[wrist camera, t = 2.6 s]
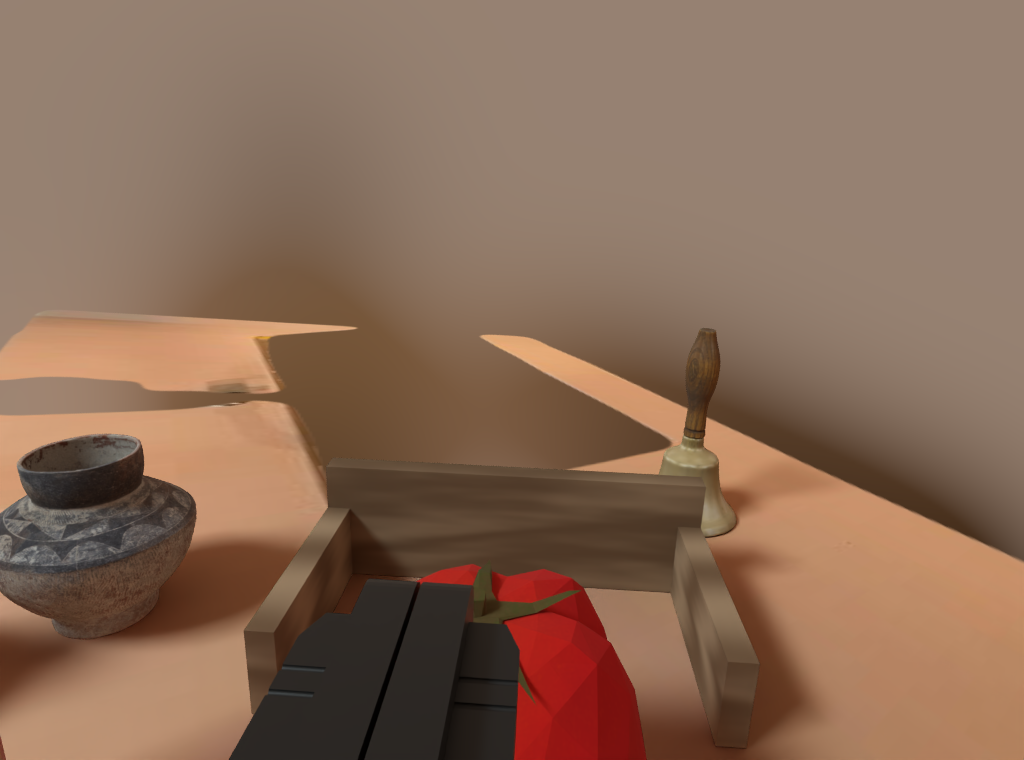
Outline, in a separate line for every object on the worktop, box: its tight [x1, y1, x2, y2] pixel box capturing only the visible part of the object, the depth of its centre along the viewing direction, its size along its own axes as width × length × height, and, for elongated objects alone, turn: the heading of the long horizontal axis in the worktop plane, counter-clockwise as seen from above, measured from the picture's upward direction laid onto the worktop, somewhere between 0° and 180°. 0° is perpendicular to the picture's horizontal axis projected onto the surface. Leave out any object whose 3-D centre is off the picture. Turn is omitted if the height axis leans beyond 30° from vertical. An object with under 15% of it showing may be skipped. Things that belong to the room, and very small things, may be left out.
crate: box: [244, 458, 760, 748], centre depth 39 cm, size 14×25×8 cm, turn 87°
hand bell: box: [658, 328, 736, 537], centre depth 55 cm, size 8×8×16 cm
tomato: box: [416, 559, 647, 760], centre depth 24 cm, size 13×13×13 cm
